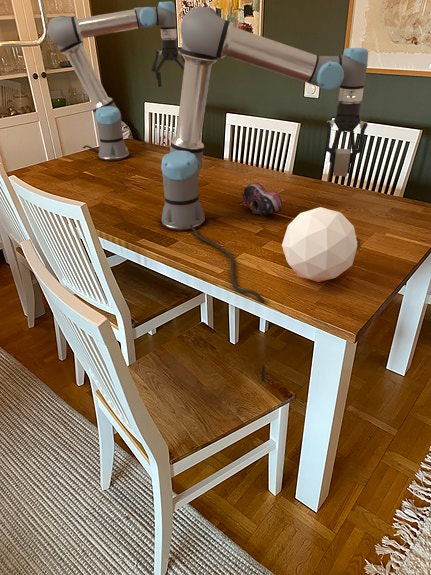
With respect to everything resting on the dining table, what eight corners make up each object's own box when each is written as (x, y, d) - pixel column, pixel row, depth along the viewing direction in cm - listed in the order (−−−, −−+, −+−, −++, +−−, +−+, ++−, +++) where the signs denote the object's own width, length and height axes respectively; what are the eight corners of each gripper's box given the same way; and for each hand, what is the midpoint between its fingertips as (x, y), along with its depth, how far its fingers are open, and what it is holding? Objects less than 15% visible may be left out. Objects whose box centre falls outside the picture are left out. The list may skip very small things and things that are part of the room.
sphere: (325, 304, 123) (342, 278, 104) (265, 266, 127) (271, 234, 108) (360, 253, 127) (382, 220, 109) (301, 218, 132) (312, 180, 113)
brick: (333, 170, 160) (336, 148, 156) (346, 171, 159) (350, 149, 155) (333, 175, 155) (336, 153, 151) (346, 176, 154) (350, 153, 150)
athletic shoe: (254, 181, 170) (227, 189, 167) (283, 176, 151) (253, 185, 147) (260, 210, 173) (234, 218, 170) (290, 209, 154) (261, 219, 150)
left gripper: (142, 40, 215) (147, 87, 226) (191, 39, 210) (193, 87, 221) (147, 39, 221) (152, 85, 232) (195, 38, 216) (197, 85, 227)
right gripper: (321, 103, 143) (314, 173, 156) (378, 104, 139) (366, 176, 152) (322, 99, 149) (315, 167, 162) (377, 100, 145) (366, 170, 158)
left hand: (172, 86), depth 227 cm, fingers open, 13 cm apart
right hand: (340, 171), depth 157 cm, fingers closed on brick, 5 cm apart
